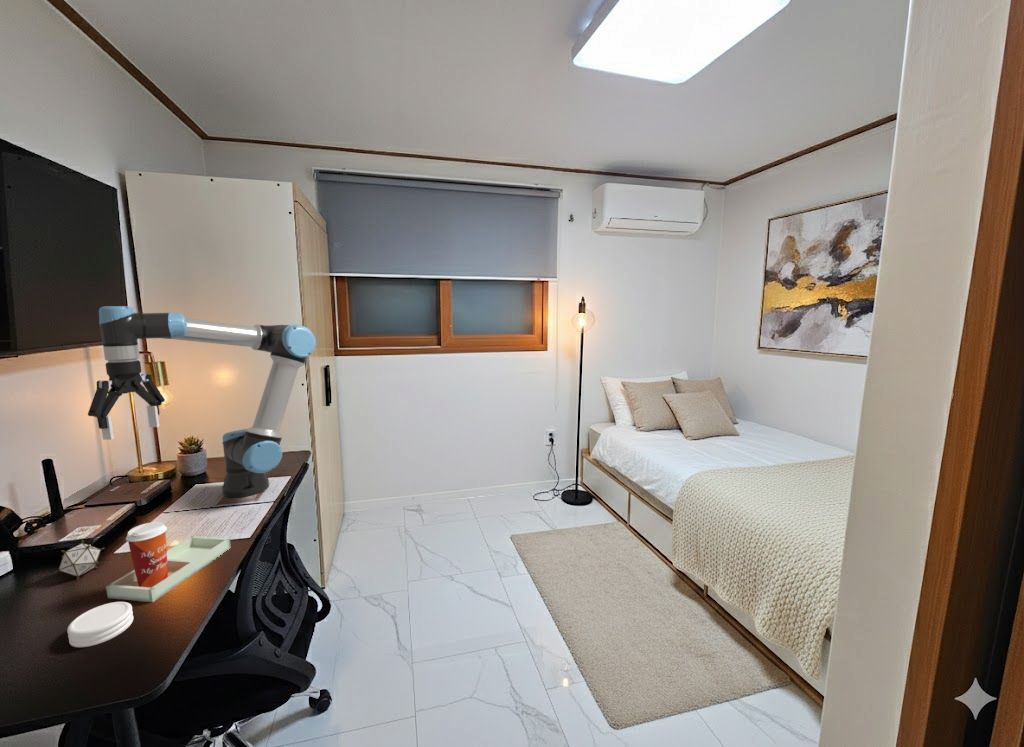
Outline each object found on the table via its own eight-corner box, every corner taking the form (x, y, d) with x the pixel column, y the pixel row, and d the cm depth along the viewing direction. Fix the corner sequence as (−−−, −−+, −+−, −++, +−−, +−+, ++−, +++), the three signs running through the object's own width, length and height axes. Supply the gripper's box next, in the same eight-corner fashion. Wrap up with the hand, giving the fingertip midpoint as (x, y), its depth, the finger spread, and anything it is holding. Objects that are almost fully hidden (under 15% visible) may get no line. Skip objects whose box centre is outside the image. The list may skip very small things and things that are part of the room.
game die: (75, 592, 111) (36, 575, 105) (86, 565, 118) (49, 548, 112) (110, 571, 113) (73, 553, 107) (118, 545, 120) (84, 527, 113)
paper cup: (150, 593, 103) (142, 537, 101) (124, 589, 105) (116, 534, 103) (181, 574, 111) (174, 521, 109) (156, 571, 112) (149, 519, 111)
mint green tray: (193, 546, 126) (191, 536, 126) (230, 548, 124) (229, 538, 124) (107, 598, 103) (106, 586, 103) (152, 602, 101) (151, 590, 101)
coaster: (83, 622, 95) (81, 607, 95) (141, 610, 99) (139, 595, 98) (58, 655, 86) (55, 639, 86) (122, 639, 90) (120, 624, 89)
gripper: (152, 356, 139) (160, 422, 141) (61, 365, 114) (74, 445, 117) (173, 356, 137) (181, 422, 140) (86, 365, 113) (98, 445, 116)
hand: (132, 432), depth 129 cm, fingers open, 13 cm apart
